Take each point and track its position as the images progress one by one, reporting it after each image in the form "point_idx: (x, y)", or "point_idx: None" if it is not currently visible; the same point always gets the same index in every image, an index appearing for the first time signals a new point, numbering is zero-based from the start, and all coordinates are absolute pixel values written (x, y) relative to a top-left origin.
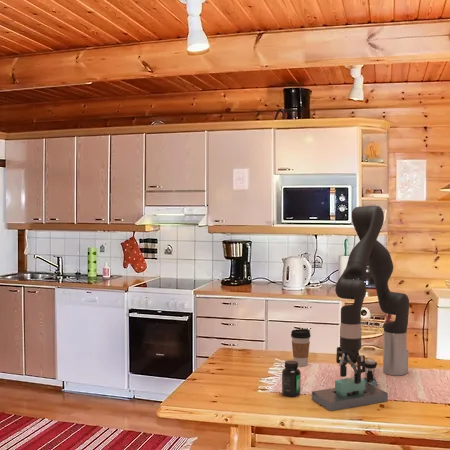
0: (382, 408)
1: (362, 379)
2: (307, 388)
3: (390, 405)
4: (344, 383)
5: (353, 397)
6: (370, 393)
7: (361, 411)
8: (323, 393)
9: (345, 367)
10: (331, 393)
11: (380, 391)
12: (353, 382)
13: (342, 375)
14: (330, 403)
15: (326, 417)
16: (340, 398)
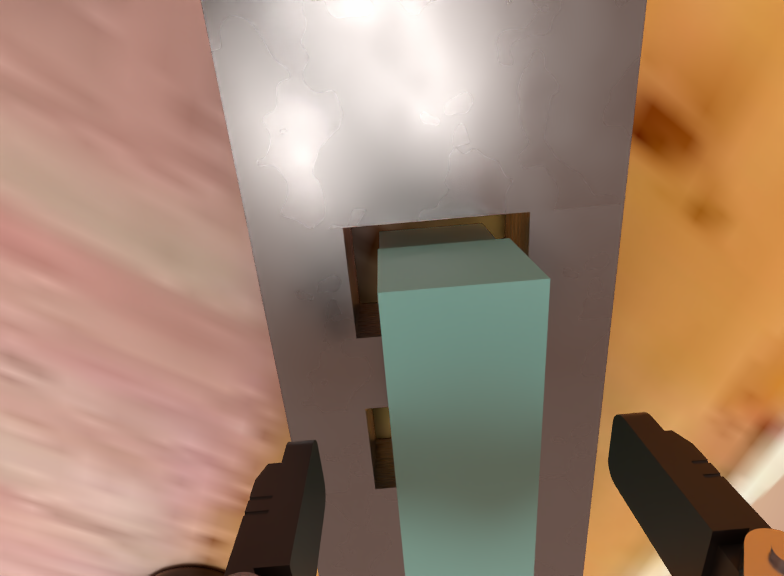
0: (712, 164)
1: (519, 304)
2: (92, 490)
3: (699, 36)
4: (534, 542)
5: (575, 400)
6: (561, 193)
7: (665, 357)
8: (392, 554)
9: (298, 565)
10: None
11: (558, 26)
12: (537, 440)
13: (322, 498)
14: (578, 572)
15: (627, 572)
16: (545, 496)
